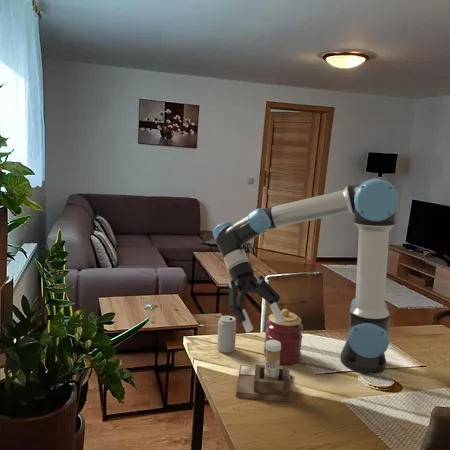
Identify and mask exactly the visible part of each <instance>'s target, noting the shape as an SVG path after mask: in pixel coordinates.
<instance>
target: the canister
mask: <svg viewBox="0 0 450 450" xmlns="http://www.w3.org/2000/svg"><path fill="white" fill-rule="evenodd" d="M281 313H282V315H283V317H284V320H285V321H284V322H282V323H281V324H278V323H277V321H276V319H275V316H274V314H273V313H270V314H269V315H268V320H267V321H266V322H265V326H266V330H265V331H264V333H265V338H264V346H263V355H264V357H265V358H266V342H267V341H268V340H277V341H279V342H280V343H281V351H280V365H283V366H284V365H286V366H288V365H294V364H295V365H296V364H297V363H298V362H299V361H300V358H301V357H302V355H301V354H302V339H303V334H302V331H303V330H304V326H303V324H302V319H301V318H300V317H299V316H298V315H297V314H296V313H294V312H291V311H289V310H288V309H287V308H283V309H281Z"/></svg>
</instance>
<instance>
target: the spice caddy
mask: <svg viewBox="0 0 450 450" xmlns="http://www.w3.org/2000/svg"><path fill="white" fill-rule="evenodd" d="M290 374H291V373H290V370H289V367H287V366H279V379H278V381H277V380H268V379H264V377H265V364H259V363H256V364H255V366H251V365H241V364H240V365H239V370H238V376H237V377H238V378H237V384H236V392H235V397H237V398H245V399H255V400H265V401H272V402H283V403H292V399H293V397H292V387H291V386H292V384H291V375H290Z"/></svg>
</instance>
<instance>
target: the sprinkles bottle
mask: <svg viewBox="0 0 450 450" xmlns="http://www.w3.org/2000/svg"><path fill="white" fill-rule="evenodd" d="M280 351H281V343H280V342H279V341H277V340H268V341H267V342H266V357H265V361H264V365H265V377H264V379H268V380H277V381H278V379H279V367H281V366H280V365H281V364H280Z"/></svg>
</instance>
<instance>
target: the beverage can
mask: <svg viewBox="0 0 450 450" xmlns="http://www.w3.org/2000/svg"><path fill="white" fill-rule="evenodd" d="M217 322H218V324H217V325H218V326H217V345H216V348H217V350H218V351H220V352H221V353H222V354H230V353H232V352H233V351H235V349H236V339H237V338H236V334H237V321H236V317H235V316H232V315H222V316H220V317H219V320H218V321H217Z"/></svg>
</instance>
